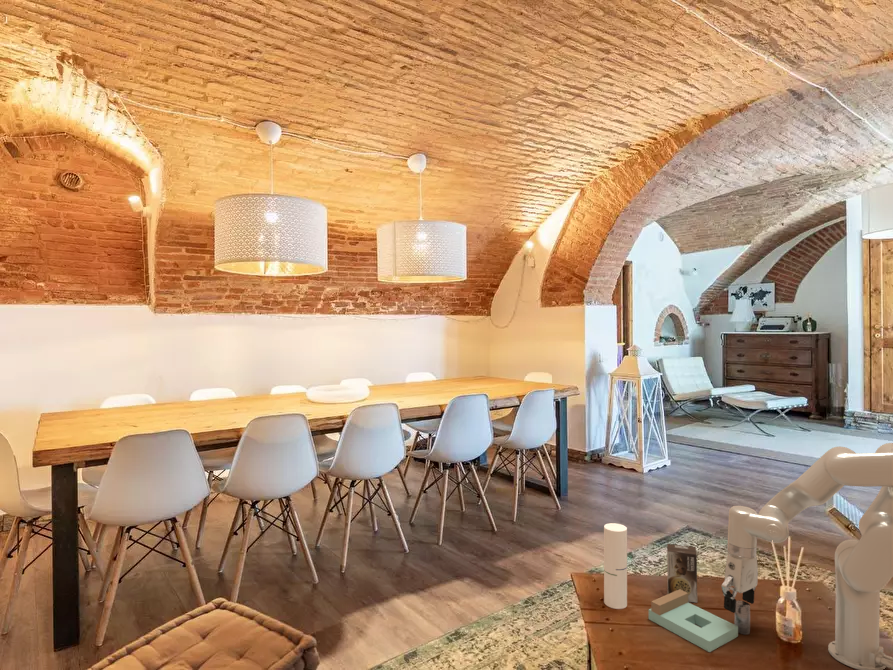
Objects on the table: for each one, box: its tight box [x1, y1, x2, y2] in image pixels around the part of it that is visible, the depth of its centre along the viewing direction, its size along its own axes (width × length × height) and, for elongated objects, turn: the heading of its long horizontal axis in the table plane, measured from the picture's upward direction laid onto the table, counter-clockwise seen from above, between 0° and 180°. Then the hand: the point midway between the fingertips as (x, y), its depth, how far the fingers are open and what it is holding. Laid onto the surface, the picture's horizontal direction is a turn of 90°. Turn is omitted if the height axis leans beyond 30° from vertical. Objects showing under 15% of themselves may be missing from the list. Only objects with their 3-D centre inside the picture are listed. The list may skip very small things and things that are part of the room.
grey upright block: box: [734, 600, 751, 636], centre depth 161 cm, size 4×4×8 cm
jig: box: [648, 589, 739, 653], centre depth 163 cm, size 20×14×6 cm
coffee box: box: [666, 543, 698, 603], centre depth 181 cm, size 9×6×16 cm
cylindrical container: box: [603, 522, 628, 610], centre depth 177 cm, size 7×7×25 cm
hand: (738, 606), depth 161 cm, fingers open, 9 cm apart
